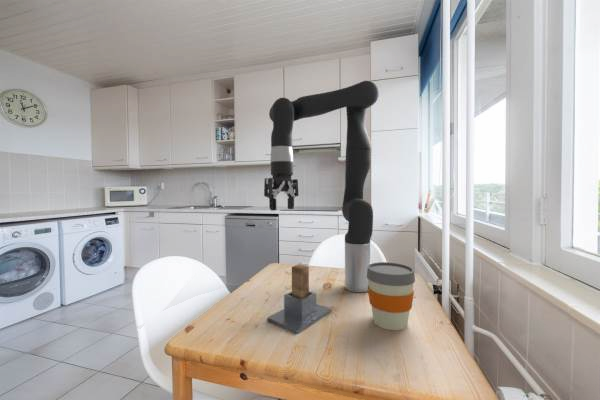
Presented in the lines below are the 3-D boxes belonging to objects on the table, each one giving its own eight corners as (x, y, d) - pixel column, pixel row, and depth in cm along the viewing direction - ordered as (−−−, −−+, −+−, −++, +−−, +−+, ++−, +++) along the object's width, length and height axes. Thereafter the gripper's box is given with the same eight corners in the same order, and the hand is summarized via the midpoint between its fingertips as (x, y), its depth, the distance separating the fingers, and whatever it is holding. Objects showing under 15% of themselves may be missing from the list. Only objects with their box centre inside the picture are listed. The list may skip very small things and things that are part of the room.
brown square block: (299, 303, 80) (299, 264, 80) (309, 307, 78) (308, 266, 77) (292, 308, 77) (291, 266, 77) (301, 311, 75) (301, 268, 75)
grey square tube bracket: (302, 302, 87) (302, 282, 87) (331, 311, 80) (331, 290, 80) (267, 321, 75) (266, 298, 75) (297, 334, 68) (297, 308, 68)
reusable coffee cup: (359, 325, 72) (359, 270, 72) (375, 308, 82) (375, 259, 82) (409, 339, 65) (409, 278, 64) (419, 318, 75) (419, 266, 75)
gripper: (274, 158, 81) (275, 211, 82) (303, 162, 92) (304, 208, 93) (258, 160, 86) (258, 210, 87) (287, 163, 97) (288, 208, 98)
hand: (282, 209), depth 90 cm, fingers open, 8 cm apart
